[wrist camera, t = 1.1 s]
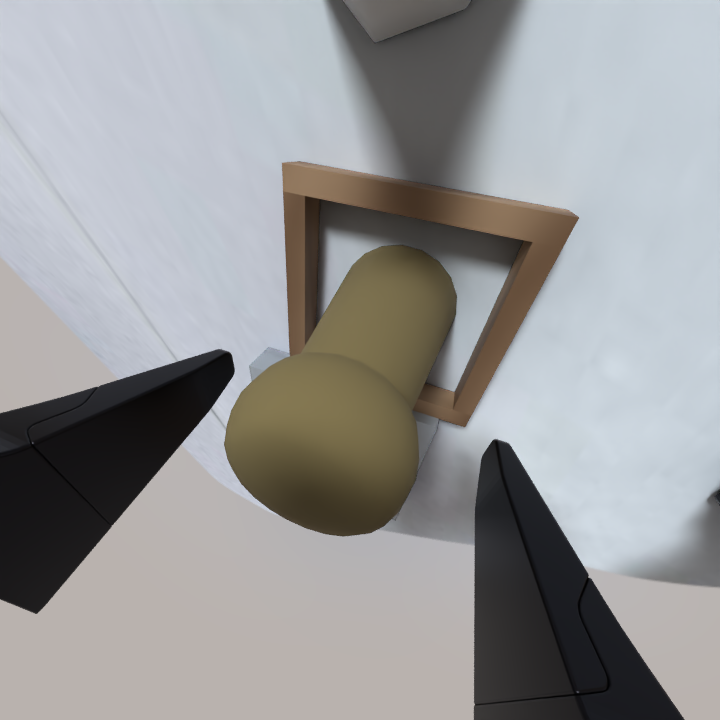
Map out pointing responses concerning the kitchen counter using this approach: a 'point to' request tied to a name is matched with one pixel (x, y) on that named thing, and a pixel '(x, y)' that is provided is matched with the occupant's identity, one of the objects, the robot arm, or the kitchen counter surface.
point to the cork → (347, 399)
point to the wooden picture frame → (436, 204)
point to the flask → (400, 14)
